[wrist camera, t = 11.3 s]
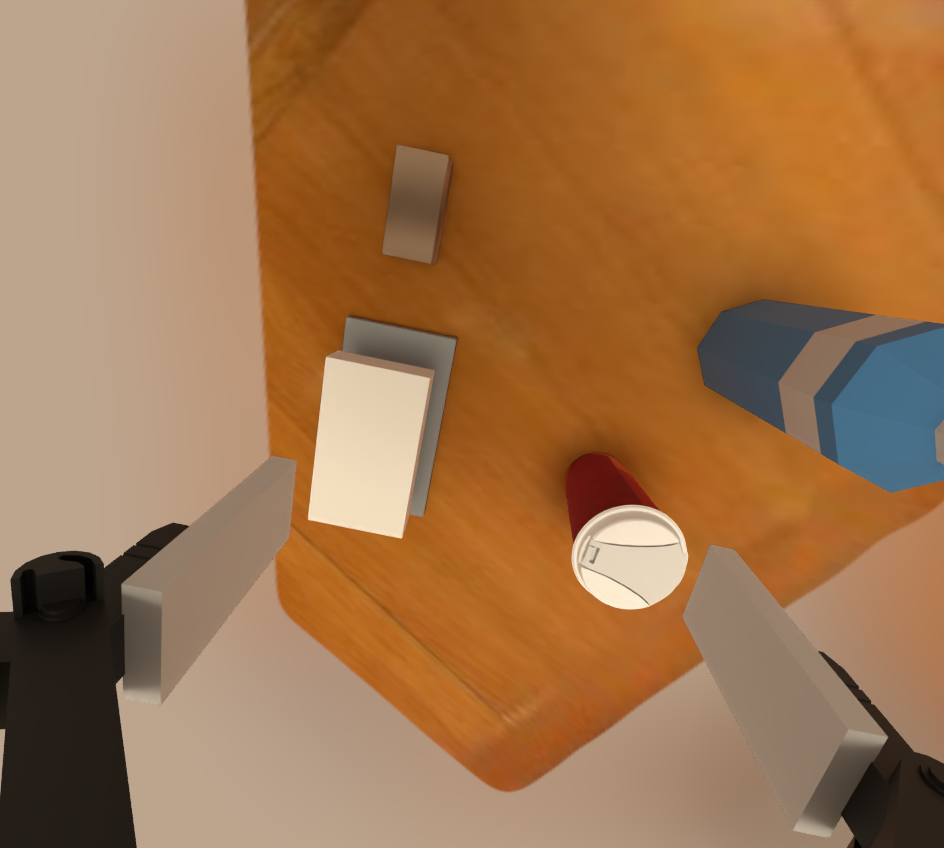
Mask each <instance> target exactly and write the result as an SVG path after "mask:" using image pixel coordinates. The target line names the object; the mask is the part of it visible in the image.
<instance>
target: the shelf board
mask: <svg viewBox="0 0 944 848" xmlns="http://www.w3.org/2000/svg"><path fill="white" fill-rule="evenodd" d="M434 372H435V370H431V369H426V368H422V367H417V366H412V365H407V364H402V363H397V362H392V361H388V360H383V359H378V358H373V357H368V356H363V355H358V354H354V353H349V352H344V351H339V350H338V351H336V352H334V353H332V354H330V355H328V356H326V361H325V370H324V379H323V388H322V397H321V406H320V415H319V424H318V433H317V442H316V451H315V460H314V469H313V478H312V487H311V496H310V505H309V514H308V520H313V521H317V522H322V523H327V524H332V525H337V526H342V527H347V528H352V529H357V530H362V531H367V532H372V533H377V534H382V535H387V536H392V537H397V538H402V536H403V534H404V531H405V528H406V525H407V522H408V518H409V512H410V506H411V501H412V495H413V490H414V484H415V478H416V473H417V467H418V462H419V456H420V450H421V445H422V439H423V434H424V428H425V423H426V417H427V411H428V406H429V400H430V395H431V389H432V383H433V378H434Z"/></svg>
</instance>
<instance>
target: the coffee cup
mask: <svg viewBox="0 0 944 848" xmlns="http://www.w3.org/2000/svg"><path fill="white" fill-rule="evenodd" d="M565 489H566V498H567V505H568V511H569V518H570V524H571V531H572V537H573V543H574V545H573V548H572V565H573V569H574V572H575V575H576V577H577V579H578V580H579V582H580V583H581V585H582V586H583V587H584V588H585V589H586V590H587V591H588V592H590V593H591V594H593V595H594V596H595V597H596V598H597V599H599V600H600V601H602V602H603V603H605V604H607V605H610V606H613V607H616V608H621V609H640V608H645V607H649V606H651V605H653V604H655V603H657V602H658V601H660V600H662V599H663V598H665V597H666V596H668V595H669V594H670V593H671V592H672V591H673V590H674V589H675V587H676V586H677V585H678V584H679V583H680V581H681V580H682V578H683V575H684V573H685V570H686V565H687V561H688V553H687V549H686V543H685V539H684V537H683V534H682V532H681V530H680V529H679V527H678V526H677V524H676V523H675V522H674V521H673V520H672V519H671V518H670V517H668V516H667V515H666V514H664V513H662V512H660V511H659V509H658V508H657V507H656V506H655V504H654V503H653V502H652V501H651V499H650V498H649V497H648V496H647V494H646V493H645V492H644V491H643V489H642V488H641V487H640V486H639V484H638V483H637V482H636V481H635V480H634V478H633V477H632V476H631V475H630V474H629V472H628V471H627V470H626V469H625V468H624V466H623V465H622V464H621V463H620V462H619V461H618V460H616V459H615V458H613V457H612V456H610V455H607V454H603V453H590V454H587V455H584V456H582V457H580V458H578V459H577V460H576V461H574V462H573V464H572V465H571V466H570V467H569V469H568V471H567V474H566V478H565Z"/></svg>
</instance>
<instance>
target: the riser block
mask: <svg viewBox="0 0 944 848" xmlns="http://www.w3.org/2000/svg"><path fill="white" fill-rule="evenodd" d="M452 170H453V163H452V161H451V159H450V157H449V155H445V154H440V153H435V152H430V151H426V150H421V149H416V148H411V147H407V146H402V145H397V148H396V155H395V162H394V170H393V177H392V184H391V192H390V199H389V206H388V214H387V221H386V228H385V236H384V243H383V250H382V254H385V255H390V256H395V257H400V258H405V259H409V260H414V261H419V262H424V263H429V264H437V259H438V253H439V247H440V241H441V235H442V229H443V223H444V217H445V211H446V205H447V199H448V194H449V188H450V182H451V176H452Z"/></svg>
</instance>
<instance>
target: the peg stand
mask: <svg viewBox="0 0 944 848" xmlns="http://www.w3.org/2000/svg"><path fill="white" fill-rule="evenodd" d="M456 343H457V338H455V337H450V336H445V335H440V334H436V333H431V332H426V331H421V330H416V329H411V328H407V327H402V326H397V325H392V324H387V323H382V322H377V321H373V320H368V319H363V318H358V317H353V316H348V317H346V324H345V332H344V340H343V349H342V351H344V352H349V353H354V354H358V355H363V356H368V357H373V358H378V359H383V360H388V361H392V362H397V363H402V364H407V365H412V366H417V367H422V368H426V369H431V370H435V372H434V378H433V383H432V389H431V395H430V400H429V406H428V411H427V417H426V423H425V428H424V434H423V439H422V445H421V450H420V456H419V462H418V467H417V473H416V478H415V484H414V490H413V495H412V501H411V506H410V512H409V514H411V515H416V516H421V517H423V515H424V512H425V507H426V502H427V496H428V491H429V486H430V480H431V475H432V470H433V465H434V459H435V454H436V449H437V443H438V438H439V433H440V428H441V422H442V417H443V412H444V406H445V401H446V396H447V390H448V385H449V380H450V375H451V369H452V364H453V359H454V353H455V348H456Z"/></svg>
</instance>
